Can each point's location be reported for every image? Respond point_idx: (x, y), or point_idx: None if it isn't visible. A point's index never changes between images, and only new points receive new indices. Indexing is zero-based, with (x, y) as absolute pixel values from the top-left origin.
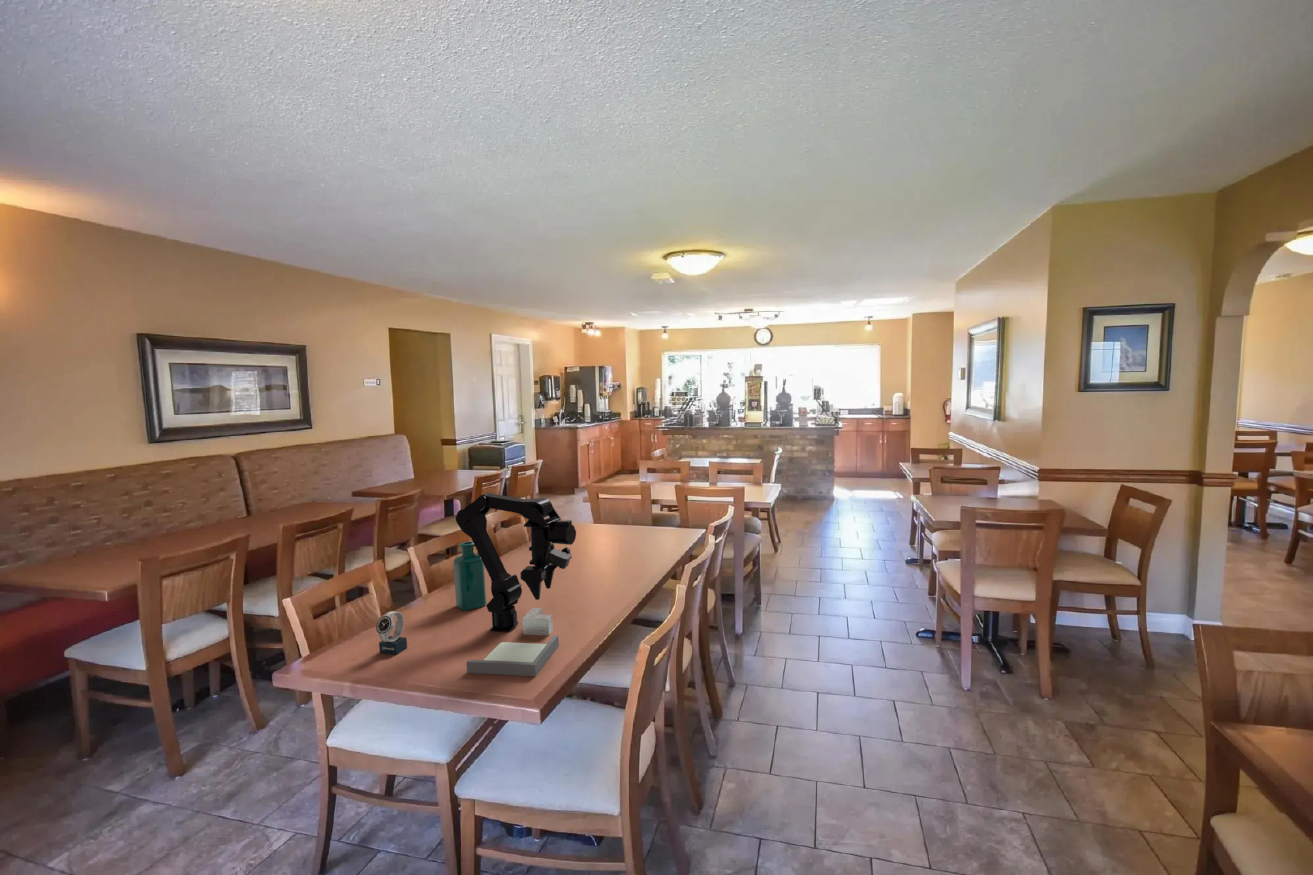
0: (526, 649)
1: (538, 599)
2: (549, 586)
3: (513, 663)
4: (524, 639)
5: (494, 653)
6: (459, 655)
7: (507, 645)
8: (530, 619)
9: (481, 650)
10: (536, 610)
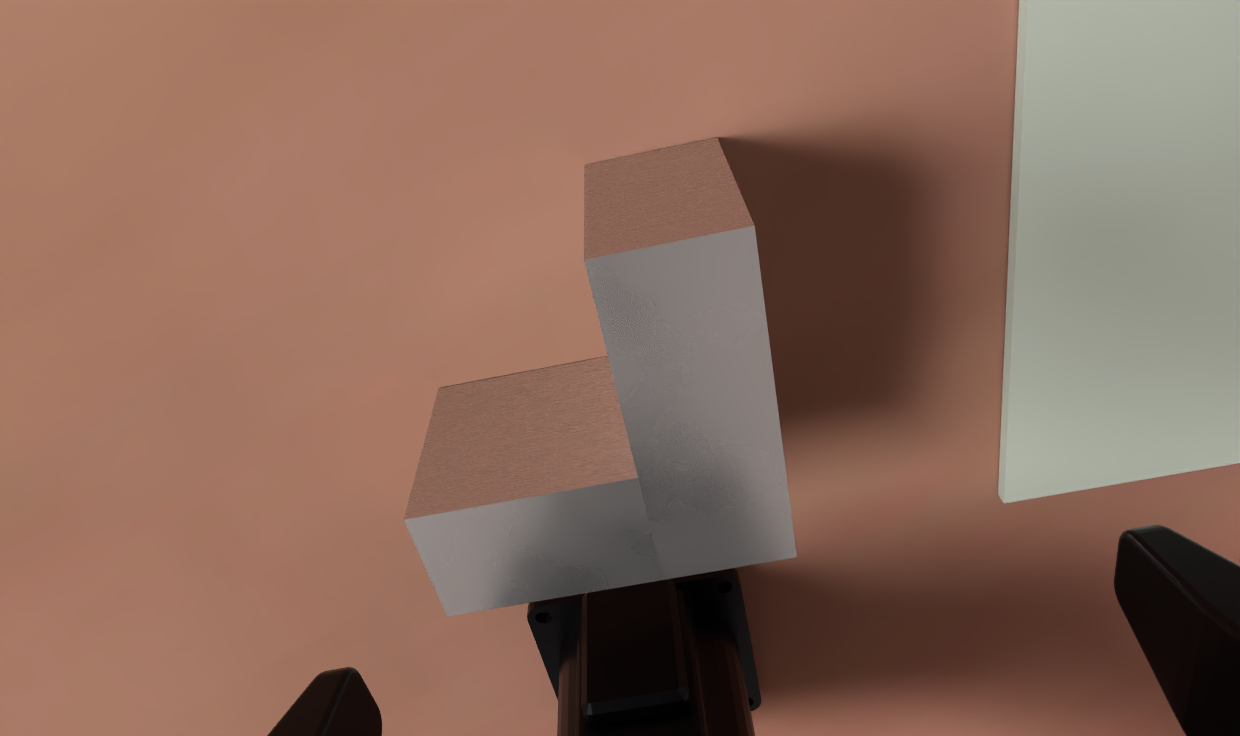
0: (1190, 166)
1: (1164, 532)
2: (342, 714)
3: None
4: (876, 348)
5: None
6: None
7: (1077, 412)
8: (781, 459)
9: None
10: (509, 536)
